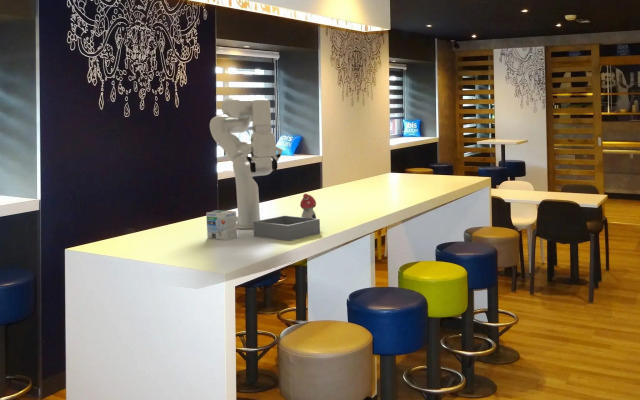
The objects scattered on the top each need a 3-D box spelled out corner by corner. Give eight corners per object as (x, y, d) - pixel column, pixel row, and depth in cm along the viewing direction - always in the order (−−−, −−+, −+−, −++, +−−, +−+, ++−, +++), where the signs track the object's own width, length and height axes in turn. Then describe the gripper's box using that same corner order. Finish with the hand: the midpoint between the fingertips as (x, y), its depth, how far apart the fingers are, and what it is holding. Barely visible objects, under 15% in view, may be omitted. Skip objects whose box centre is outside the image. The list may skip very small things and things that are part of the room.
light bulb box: (207, 238, 283) (205, 212, 282) (217, 235, 289) (216, 209, 288) (227, 240, 278) (226, 213, 276) (238, 237, 283) (236, 211, 282)
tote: (254, 236, 284) (253, 221, 283) (285, 229, 297) (284, 215, 297) (289, 240, 271) (288, 225, 270) (320, 233, 284) (319, 218, 283)
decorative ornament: (308, 229, 295) (307, 194, 293) (296, 228, 298) (294, 193, 296) (321, 226, 302) (320, 191, 300) (309, 225, 306) (308, 191, 304)
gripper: (246, 130, 278) (248, 173, 280) (285, 128, 286) (286, 170, 289) (238, 130, 284) (241, 172, 286) (276, 128, 293) (278, 169, 295)
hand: (264, 171), depth 288 cm, fingers open, 9 cm apart
